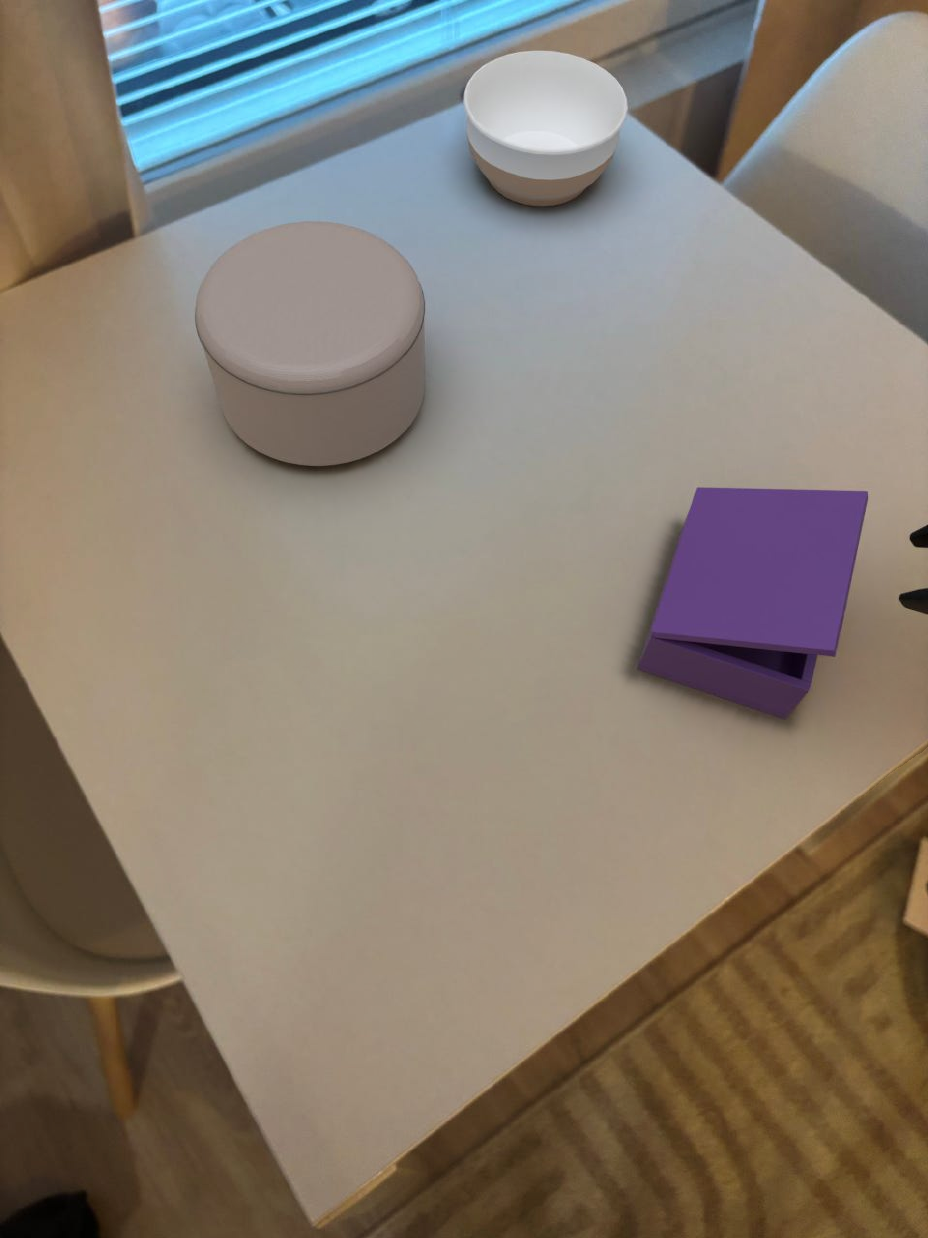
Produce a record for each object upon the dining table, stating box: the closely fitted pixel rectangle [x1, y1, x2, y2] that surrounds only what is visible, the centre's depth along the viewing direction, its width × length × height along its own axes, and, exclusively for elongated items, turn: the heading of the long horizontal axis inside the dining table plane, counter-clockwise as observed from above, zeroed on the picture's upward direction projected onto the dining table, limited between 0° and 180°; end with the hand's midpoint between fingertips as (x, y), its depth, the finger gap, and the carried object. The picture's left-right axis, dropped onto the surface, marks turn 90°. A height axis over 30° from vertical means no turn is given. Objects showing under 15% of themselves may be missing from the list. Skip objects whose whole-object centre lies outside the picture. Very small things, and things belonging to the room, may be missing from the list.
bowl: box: [462, 50, 629, 207], centre depth 95 cm, size 16×16×8 cm
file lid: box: [651, 486, 869, 658], centre depth 66 cm, size 12×13×1 cm
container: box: [194, 221, 426, 467], centre depth 78 cm, size 18×18×12 cm
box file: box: [636, 509, 818, 720], centre depth 71 cm, size 11×13×5 cm
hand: (906, 570), depth 61 cm, fingers open, 5 cm apart
